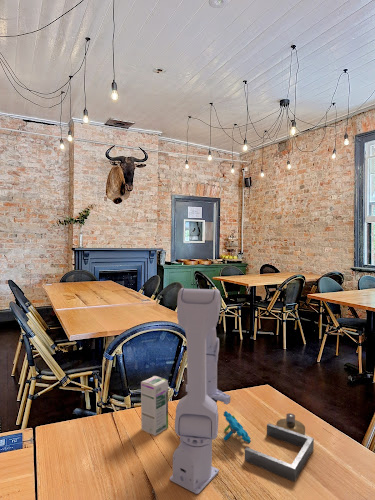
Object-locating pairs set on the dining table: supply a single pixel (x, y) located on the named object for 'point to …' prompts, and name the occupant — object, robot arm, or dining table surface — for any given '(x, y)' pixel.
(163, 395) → the syrup box
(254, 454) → the frame
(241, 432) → the gear
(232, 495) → the dining table surface
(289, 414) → the call bell
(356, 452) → the dining table surface
